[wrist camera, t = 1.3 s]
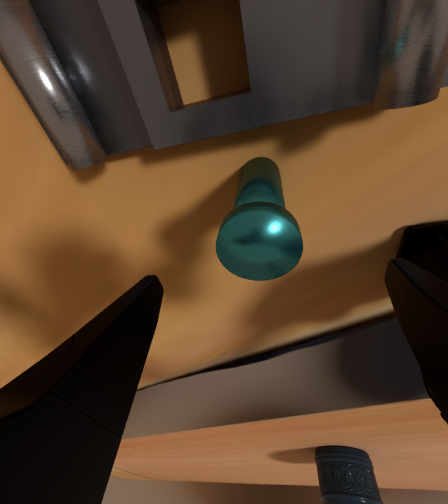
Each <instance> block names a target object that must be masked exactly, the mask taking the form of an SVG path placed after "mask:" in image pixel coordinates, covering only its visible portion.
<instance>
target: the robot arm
mask: <svg viewBox="0 0 448 504" xmlns="http://www.w3.org/2000/svg"><path fill="white" fill-rule="evenodd" d="M413 231H415V232H413ZM411 232H413V233H411ZM385 284H386V287H387V290H388V293H389V296H390V299H391V302H392V305H393V308H394V311H395V314H396V317H397V319H398V322H399V324H400V326H401V329H402V331H403V333H404V335H405V337H406V339H407V341H408V343H409V345H410V347H411V349H412V351H413V353H414V356H415V358H416V360H417V362H418V364H419V366H420V369H421V373H422V378H423V382H424V385H425V387H426V390H427V393H428V395H429V397H430V398H431V399H432V401H433V402H434V404H435V405H436V406H437V408H438V409H439V410H440V411H441V413H440V414H441V417H442V418H443V419H444V420H445V421H446V422H447V424H448V222H443V223H434V224H424V225H414V226H410V227H408V228H407V229H406V230H405V231H404V234H403V238H402V241H401V245H400V248H399V252H398V255H397V259H392V260H390V261H389V263H388V266H387V270H386V273H385ZM162 298H163V287H162V285H161V283H160V281H159V279H158V277H157V276H156V275H147V276H145V277H144V278H143V279H141V280H140V281H139V282H138V283H136V284H135V285H134V286H133V287H132V288H130V289H129V290H128V291H127V292H125V293H124V294H123V295H122V296H120V297H119V298H118V299H117V300H115V301H114V302H113V303H112V304H110V305H109V306H108V307H107V308H106V309H104V310H103V311H102V312H101V313H99V314H98V315H97V316H96V317H94V318H93V319H92V320H91V321H89V322H88V323H87V324H86V325H84V326H83V327H82V328H81V329H79V330H78V331H77V332H76V334H73V335H72V336H71V337H70V338H68V339H67V340H66V341H65V342H63V343H62V344H61V345H59V346H58V347H57V348H56V349H54V350H53V351H52V352H50V353H49V354H48V355H46V356H45V357H44V358H42V359H41V360H40V361H38V362H37V363H35V364H34V365H33V366H31V367H30V368H29V369H27V370H26V371H24V372H23V373H22V374H20V375H19V376H17V377H16V378H15V379H13V380H12V381H11V382H9V383H8V384H6V385H5V386H4V387H2V388H1V389H0V504H101V502H102V499H103V496H104V493H105V490H106V487H107V483H108V480H109V477H110V474H111V471H112V468H113V464H114V461H115V458H116V455H117V452H118V448H119V445H120V442H121V439H122V438H121V437H122V435H123V431H124V429H125V426H126V422H127V419H128V416H129V413H130V410H131V406H132V403H133V400H134V397H135V394H136V390H137V387H138V384H139V381H140V378H141V374H142V371H143V368H144V365H145V362H146V358H147V355H148V352H149V349H150V346H151V342H152V339H153V336H154V333H155V330H156V326H157V322H158V318H159V313H160V308H161V303H162Z"/></svg>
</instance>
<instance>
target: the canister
mask: <svg viewBox="0 0 448 504" xmlns="http://www.w3.org/2000/svg"><path fill="white" fill-rule="evenodd" d="M315 460H316V461H315V463H316V465H317V472H318V479H319V487H320V498H321V499H322V501H323V504H383V503H382V500H381V497H380V493H379V489H378V486H377V482H376V478H375V475H374V471H373V465H372V461H371V460H370V457H369V455H368V454H367V453H366V452H364V451H362V450H358V449H354V448H349V447H340V446H328V447H321V448H318V449H316V450H315Z"/></svg>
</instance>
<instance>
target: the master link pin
mask: <svg viewBox="0 0 448 504" xmlns="http://www.w3.org/2000/svg"><path fill="white" fill-rule="evenodd" d="M216 252H217V256H218V258H219V260H220V262H221V263H222V265H223V266H224V267H225V268H226V269H227V270H229V271H230V272H231V273H233V274H235V275H237V276H239V277H241V278H244V279H248V280H255V281H265V280H271V279H275V278H278V277H281V276H283V275H285V274H287V273H288V272H289V271H291V270H292V269H293V268H294V267H295V266H296V265H297V264H298V262H299V260H300V258H301V256H302V252H303V241H302V237H301V232H300V228H299V225H298V223H297V221H296V219H295V218H294V216H293V215H292V214H291V213H290V212H289V211H287V210H286V209H285V202H284V196H283V190H282V183H281V177H280V171H279V168H278V166H277V165H276V163H275V162H273V161H272V160H271V159H268V158H265V157H257V158H254V159H251V160H250V161H248V162H247V163H246V164H245V165H244V167H243V168H242V171H241V174H240V179H239V184H238V189H237V194H236V200H235V205H234V209H233V210H232V211H231V212H229V213H228V214H227V215H226V217H225V218H224V219H223V221H222V223H221V225H220V229H219V233H218V237H217V240H216Z"/></svg>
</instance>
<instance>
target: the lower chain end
mask: <svg viewBox="0 0 448 504" xmlns="http://www.w3.org/2000/svg"><path fill="white" fill-rule="evenodd" d="M175 1H178V0H153V1H150V2H148V3H146V5H147V8H148V11H149V15H150V18H151V22H152V25H153V28H154V32H155V35H156V38H157V42H158V45H159V49H160V52H161V55H162V59H163V62H164V66H165V69H166V72H167V76H168V79H169V82H170V86H171V89H172V93H173V96H174V99H175V103H176V106H177V109H178V108H182V107H186V106H190V105H194V104H198V103H202V102H206V101H210V100H213V99H217V98H221V97H225V96H229V95H233V94H237V93H241V92H245V91H248V90H251V88H249V89H245V90H241V91H237V92H233V93H229V94H225V95H222V96H218V97H214V98H210V99H206V100H202V101H198V102H194V103H191V104H187V105H183V101H182V98H181V94H180V90H179V87H178V83H177V80H176V76H175V72H174V69H173V65H172V62H171V58H170V55H169V51H168V47H167V44H166V40H165V37H164V33H163V29H162V26H161V22H160V19H159V15H158V12H157V8H159V7H162V6H165V5H167V4H170V3H173V2H175ZM0 59H1V61H2V62H3V64H4V65H5V67H6V69H7V70H8V72H9V74H10V75H11V77H12V78H13V80H14V82H15V83H16V85H17V86H18V88H19V90H20V91H21V93H22V95H23V96H24V98H25V99H26V101H27V103H28V104H29V106H30V107H31V109H32V111H33V112H34V114H35V115H36V117H37V119H38V120H39V122H40V124H41V125H42V127H43V128H44V130H45V132H46V133H47V135H48V136H49V138H50V140H51V141H52V143H53V145H54V146H55V148H56V149H57V151H58V153H59V154H60V156H61V157H62V159H63V161H64V162H65V164H66V165H68V164H69V165H70V166H71V168H72V170H78V169H83V168H86V167H89V166H92V165H95V164H98V163H100V162H102V161H104V160H106V159H107V158H108V157H107V156H109V155H113V154H118V153H122V152H127V151H131V150H136V149H140V148H145V147H149V146H153V145H152V142H151V139H150V137H149V134H148V131H147V129H146V126H145V124H144V121H143V118H142V116H141V113H140V110H139V108H138V105H137V103H136V100H135V97H134V95H133V92H132V89H131V87H130V84H129V82H128V79H127V76H126V74H125V71H124V68H123V66H122V63H121V61H120V58H119V55H118V53H117V50H116V47H115V45H114V42H113V40H112V37H111V34H110V32H109V29H108V27H107V24H106V21H105V19H104V16H103V13H102V11H101V8H100V6H99V3H98V0H0Z"/></svg>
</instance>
